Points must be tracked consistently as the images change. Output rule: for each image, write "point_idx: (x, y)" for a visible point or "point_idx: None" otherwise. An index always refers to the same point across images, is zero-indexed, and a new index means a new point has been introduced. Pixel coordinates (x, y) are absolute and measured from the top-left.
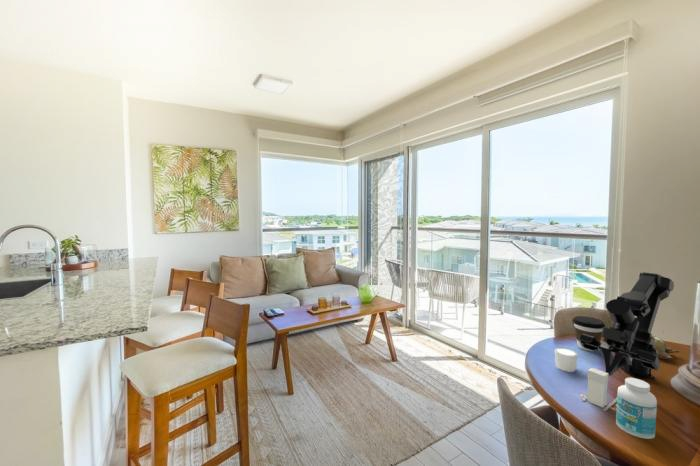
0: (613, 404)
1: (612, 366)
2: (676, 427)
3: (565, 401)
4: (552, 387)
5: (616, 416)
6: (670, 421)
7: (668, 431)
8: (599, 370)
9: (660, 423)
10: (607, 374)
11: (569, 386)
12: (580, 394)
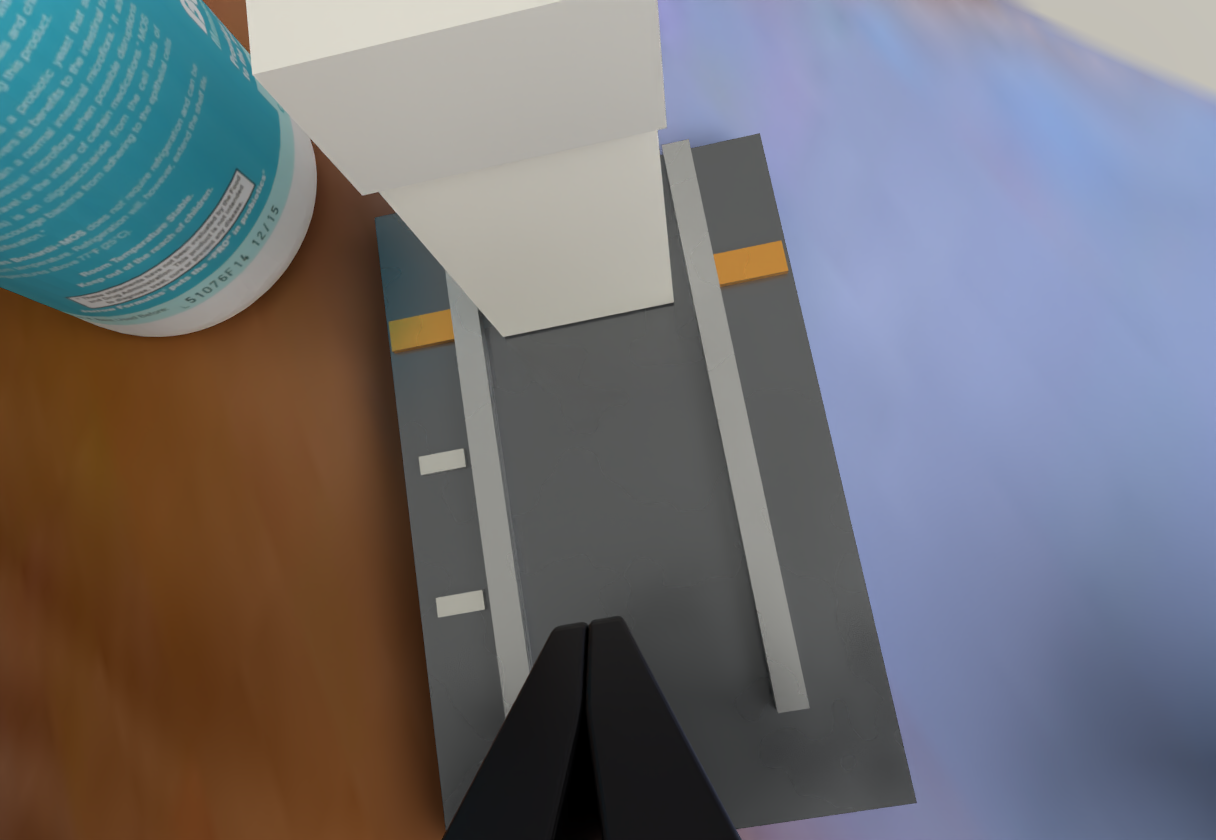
0: (468, 427)
1: (502, 822)
2: (10, 705)
3: (798, 49)
4: (1102, 172)
5: (241, 45)
6: (73, 783)
7: (35, 536)
8: (455, 13)
9: (116, 623)
10: (249, 13)
11: (1044, 421)
12: (784, 257)
